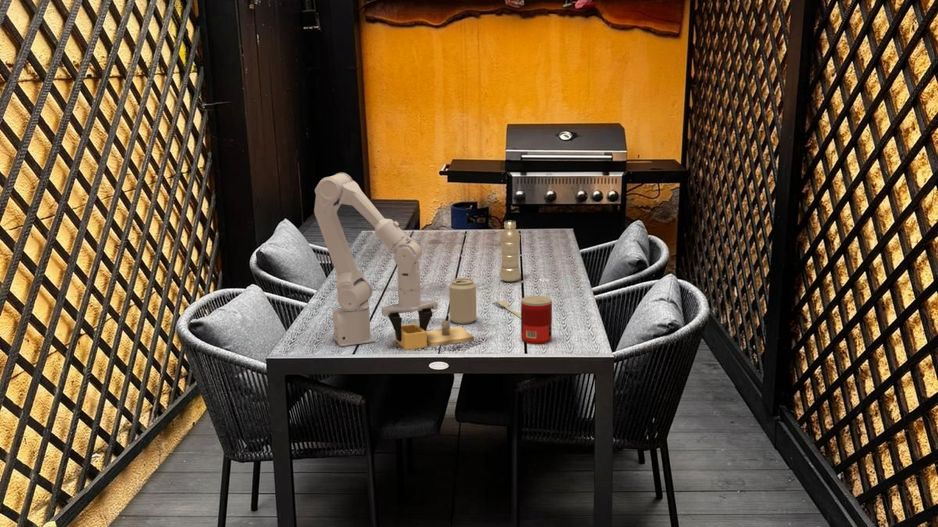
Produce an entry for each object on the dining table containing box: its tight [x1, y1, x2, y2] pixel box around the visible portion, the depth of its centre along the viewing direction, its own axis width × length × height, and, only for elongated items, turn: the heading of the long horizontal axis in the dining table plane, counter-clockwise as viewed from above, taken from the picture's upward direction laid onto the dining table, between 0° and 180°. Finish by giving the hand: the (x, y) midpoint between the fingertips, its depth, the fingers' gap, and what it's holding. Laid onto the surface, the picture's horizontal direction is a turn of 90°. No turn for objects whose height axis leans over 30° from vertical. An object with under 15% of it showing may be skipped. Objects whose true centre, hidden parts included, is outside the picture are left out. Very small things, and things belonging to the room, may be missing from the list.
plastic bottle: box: [499, 220, 521, 283], centre depth 289 cm, size 6×7×20 cm
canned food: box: [520, 295, 553, 345], centre depth 230 cm, size 8×8×11 cm
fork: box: [492, 300, 521, 320], centre depth 257 cm, size 3×21×3 cm, turn 26°
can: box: [448, 277, 477, 325], centre depth 247 cm, size 8×8×12 cm
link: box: [394, 322, 428, 351], centre depth 229 cm, size 6×8×4 cm
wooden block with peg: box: [426, 320, 475, 348], centre depth 233 cm, size 12×10×4 cm
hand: (410, 338), depth 229 cm, fingers closed on link, 6 cm apart
